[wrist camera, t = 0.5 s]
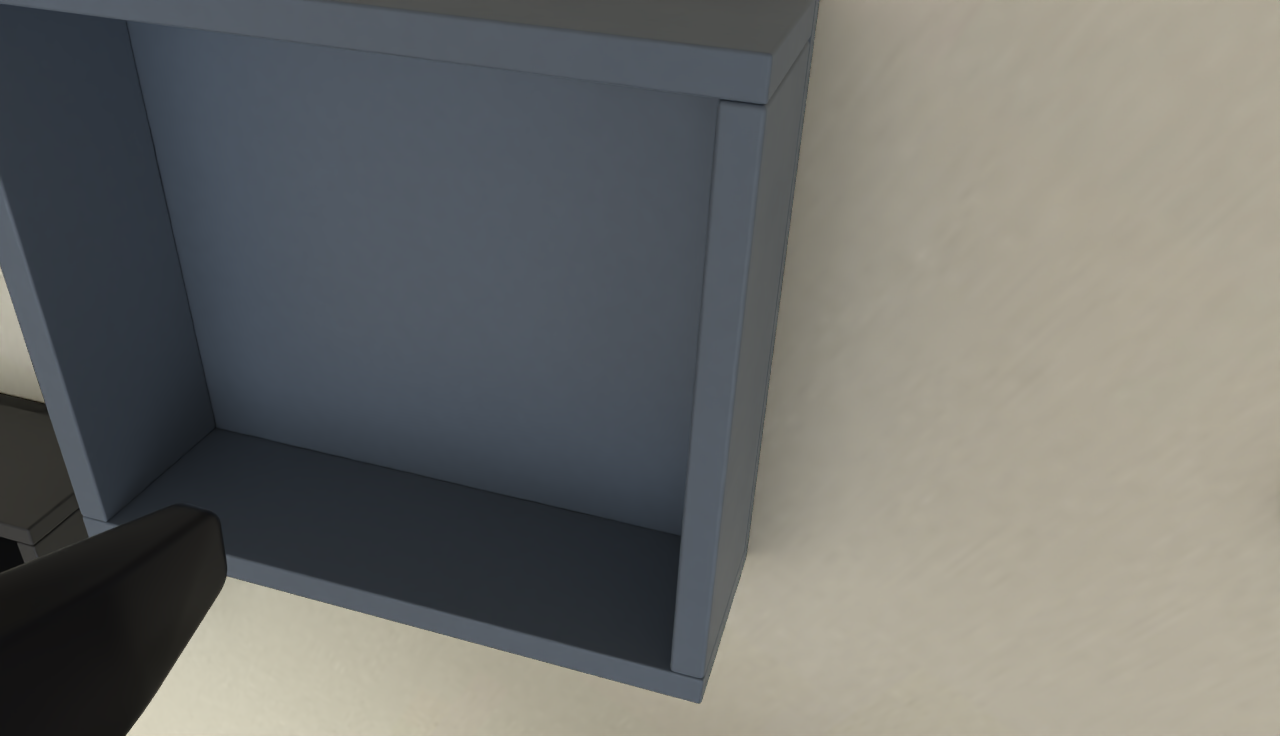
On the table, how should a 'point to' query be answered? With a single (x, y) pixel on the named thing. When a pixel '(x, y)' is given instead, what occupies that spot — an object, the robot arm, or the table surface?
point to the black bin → (33, 486)
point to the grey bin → (419, 296)
